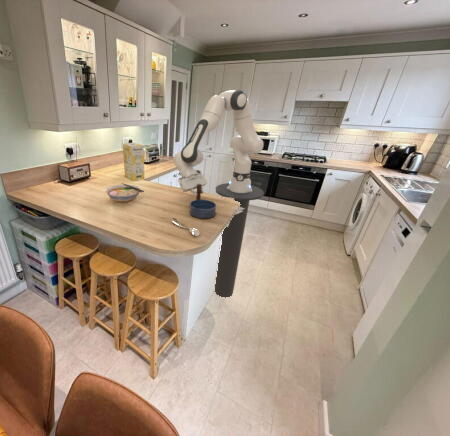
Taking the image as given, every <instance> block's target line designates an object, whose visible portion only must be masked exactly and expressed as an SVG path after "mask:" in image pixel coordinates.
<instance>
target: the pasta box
mask: <svg viewBox="0 0 450 436" xmlns="http://www.w3.org/2000/svg"><path fill="white" fill-rule="evenodd" d="M144 151H145V149H144V145H143V144H140V143H137V142H126V143H122V156H123V168H124V177H126V178H128V179H129V180H131V181H133V182H135V181H141V180H145V178H146V177H145V155H144V154H145V152H144Z"/></svg>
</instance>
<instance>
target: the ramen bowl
mask: <svg viewBox="0 0 450 436" xmlns="http://www.w3.org/2000/svg"><path fill="white" fill-rule="evenodd" d="M144 192H145V190H143V189H141V188H140V187H139V186H137V185H134V184H126V183H124V182H123V183H122V184H117V185H112V186H109V187H108V188H106V189H105V193H106V195H108V197H109V198H110V199H111V200H113V201H115V202H120V203H127V202H130V201H132V200H134V199H136V197H138V196H139V194H140V193H144Z"/></svg>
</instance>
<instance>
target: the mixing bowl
mask: <svg viewBox="0 0 450 436" xmlns="http://www.w3.org/2000/svg"><path fill="white" fill-rule="evenodd" d="M216 212H217V203H215V202H214V201H213V200H208V199H201V198H200V200H196V199H193V200H191V201H190V202H189V215H191V216H193V217H194V218H198V219H210V218H213V217H215V216H216V214H217V213H216Z"/></svg>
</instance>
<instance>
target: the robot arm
mask: <svg viewBox="0 0 450 436" xmlns="http://www.w3.org/2000/svg"><path fill="white" fill-rule="evenodd" d="M224 111H225V112H226V111H227V112H230V111H232V113H233V123H234V129H235V131H236V132H237V134H238V135H234V136H232V138H231V139H230V142H229V144H230V145H229V146H230V148H231V149H232V151H233V154H234V169H233V172H232V177H231V178H230V179H229V182H228V183H230V184H229V186H228V187H227V188H226V189H229V190H230V191H232V192H236V193H248V192H252V188H251V185H252V179H251V168H252V160H251V158H250V156H249V154H250V155H257V154H260V153H261V152H262V150H263V149H264V141H263V139H262V138H261V137H260V136H259V134H257V131H256V129H255V127H254V121H253V113H252V106H251V103H250V100H249V98H248V96H247V94H246V92H245V91H244V90H241V89H230V90H226V91H220V92H218V93H217V94H215V95H212V96H211V97H210V99H209V100H208V102H207V103H206V105H205V107H204V110H203V112H202V114H201V116H200V119H199V121H198V122H197V124H196V126H195V127H194V130H193V131H192V133H191V135H190V137H189V139H188V142H187V143H186V144H185V145H184V146H183V148H182V149H181V151H180V150H179V151H178V152H177V153H175V154H174V156H173V163H174V165H175V168H176V169H177V171H178V172H179V174H180V176H181V177H179V178H178V179H177V182H178V184H179V187H180V190H181V191H182V192H183V193H186V192H190V193H191V194H193V196H194V197H196V195H197V191H195V190H197V184H201V195H202V194H204V193H205V192H204V187H205V186H206V185H207V184H208V181H207V179H206V177H205V176H204V175H203V172H202V171H201V170H199V169H195V168H193V167H196V166H198V165H200V164H201V163H202V162H203V160H204V154H203V152H202V151H201V150H199V146H200V144H201V141H202V139H203V137H204V136H205V134H206V133H208V132H212V131H214V130H216V128H217V127H218V125H219V123H220V121H221V119H222V115H223V113H224Z"/></svg>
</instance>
